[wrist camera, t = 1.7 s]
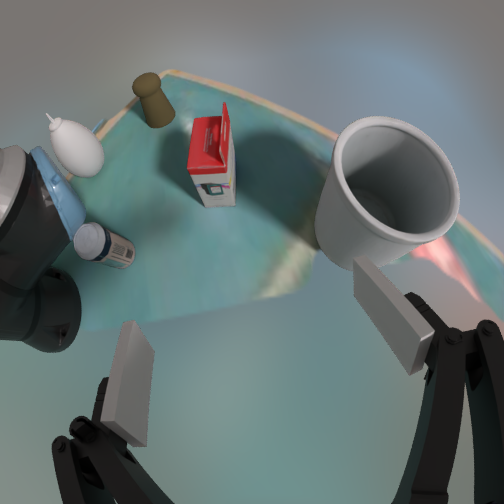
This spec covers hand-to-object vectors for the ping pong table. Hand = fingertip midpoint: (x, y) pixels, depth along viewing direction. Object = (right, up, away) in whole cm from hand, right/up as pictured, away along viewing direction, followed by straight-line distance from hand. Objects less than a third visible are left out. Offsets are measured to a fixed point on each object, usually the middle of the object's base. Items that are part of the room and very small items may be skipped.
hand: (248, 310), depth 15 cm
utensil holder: (+16, +6, +26) cm, 31 cm away
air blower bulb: (-30, +19, +32) cm, 48 cm away
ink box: (-5, +14, +29) cm, 32 cm away
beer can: (-20, +3, +27) cm, 33 cm away
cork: (-18, +30, +34) cm, 49 cm away
